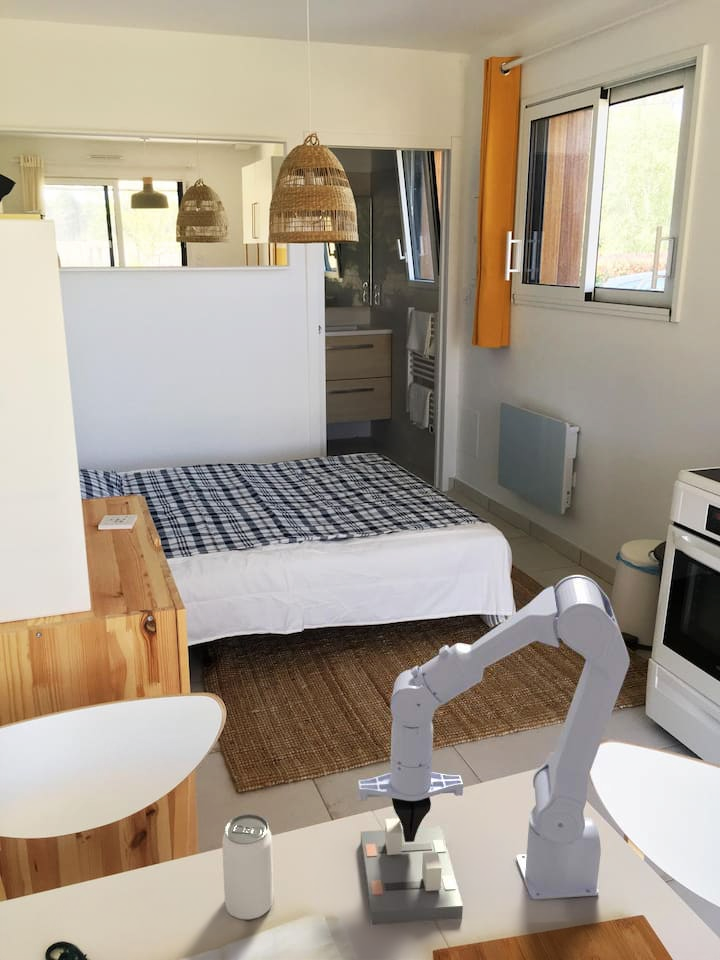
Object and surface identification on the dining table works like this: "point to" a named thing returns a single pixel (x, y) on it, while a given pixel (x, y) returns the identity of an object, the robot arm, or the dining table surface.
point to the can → (247, 866)
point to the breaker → (431, 871)
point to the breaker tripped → (393, 836)
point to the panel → (408, 879)
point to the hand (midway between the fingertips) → (408, 837)
